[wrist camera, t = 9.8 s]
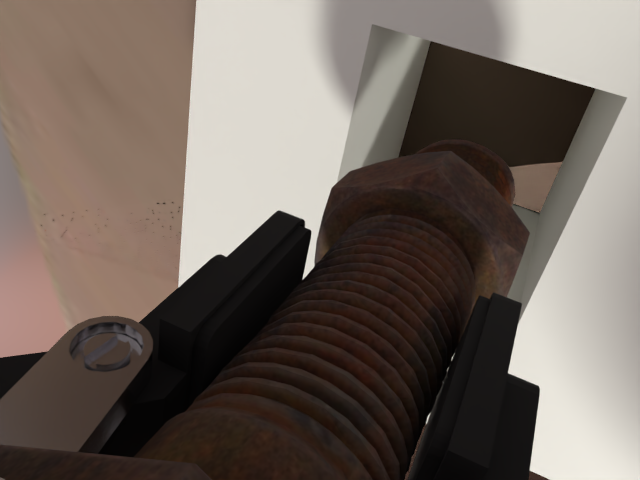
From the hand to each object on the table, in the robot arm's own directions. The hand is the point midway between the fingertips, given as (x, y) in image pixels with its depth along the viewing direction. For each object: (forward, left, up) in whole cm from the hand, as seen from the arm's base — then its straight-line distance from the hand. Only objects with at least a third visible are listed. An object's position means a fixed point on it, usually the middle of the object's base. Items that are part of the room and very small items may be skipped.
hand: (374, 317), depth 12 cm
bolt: (0, 0, -7) cm, 7 cm away
